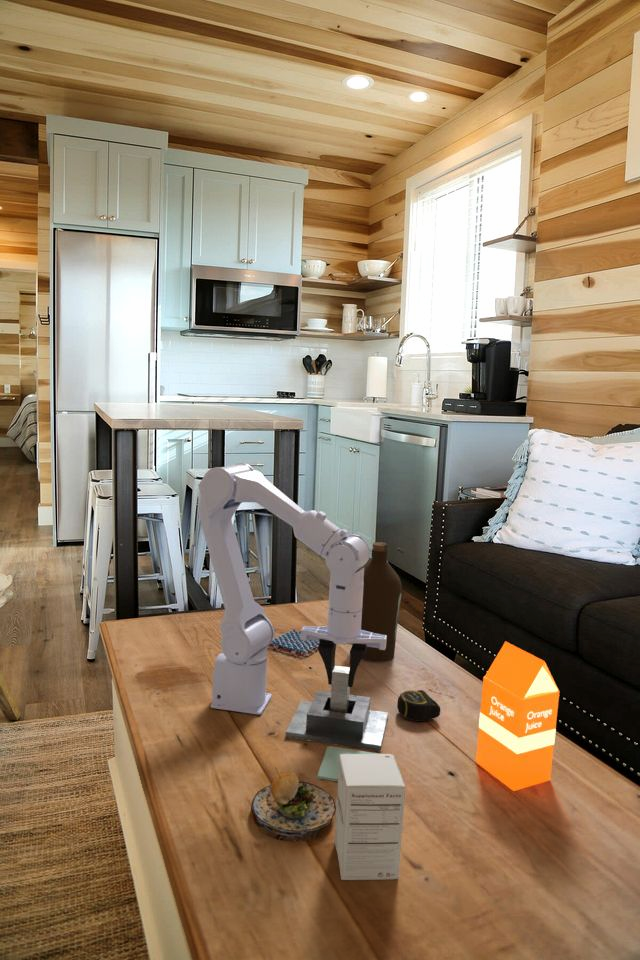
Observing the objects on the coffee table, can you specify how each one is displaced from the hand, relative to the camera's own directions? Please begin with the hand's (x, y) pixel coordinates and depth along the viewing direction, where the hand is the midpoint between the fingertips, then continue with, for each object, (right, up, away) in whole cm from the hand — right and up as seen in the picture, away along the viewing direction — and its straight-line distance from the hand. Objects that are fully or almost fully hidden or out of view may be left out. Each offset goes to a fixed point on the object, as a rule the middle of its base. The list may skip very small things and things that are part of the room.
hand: (341, 683), depth 122 cm
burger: (-7, -12, -24) cm, 27 cm away
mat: (+1, -10, -11) cm, 15 cm away
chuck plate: (0, -8, +1) cm, 8 cm away
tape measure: (+14, -8, +8) cm, 18 cm away
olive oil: (+8, -4, +35) cm, 36 cm away
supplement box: (+2, -13, -33) cm, 35 cm away
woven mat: (-9, -3, +37) cm, 38 cm away
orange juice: (+27, -11, -10) cm, 31 cm away
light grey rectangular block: (0, -4, 0) cm, 4 cm away
